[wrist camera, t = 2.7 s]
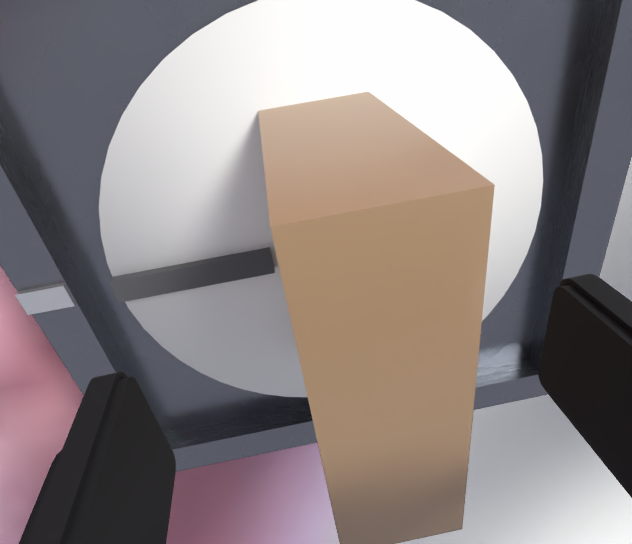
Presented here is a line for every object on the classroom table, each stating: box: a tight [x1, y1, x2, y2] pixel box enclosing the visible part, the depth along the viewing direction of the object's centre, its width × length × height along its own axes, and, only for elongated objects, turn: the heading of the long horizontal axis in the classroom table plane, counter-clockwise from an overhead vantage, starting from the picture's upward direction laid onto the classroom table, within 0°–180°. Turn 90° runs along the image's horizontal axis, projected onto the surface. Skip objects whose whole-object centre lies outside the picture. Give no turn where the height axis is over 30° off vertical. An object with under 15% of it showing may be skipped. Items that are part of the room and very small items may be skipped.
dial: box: [99, 0, 543, 544], centre depth 11 cm, size 14×14×8 cm
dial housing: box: [0, 0, 632, 471], centre depth 15 cm, size 20×20×2 cm
